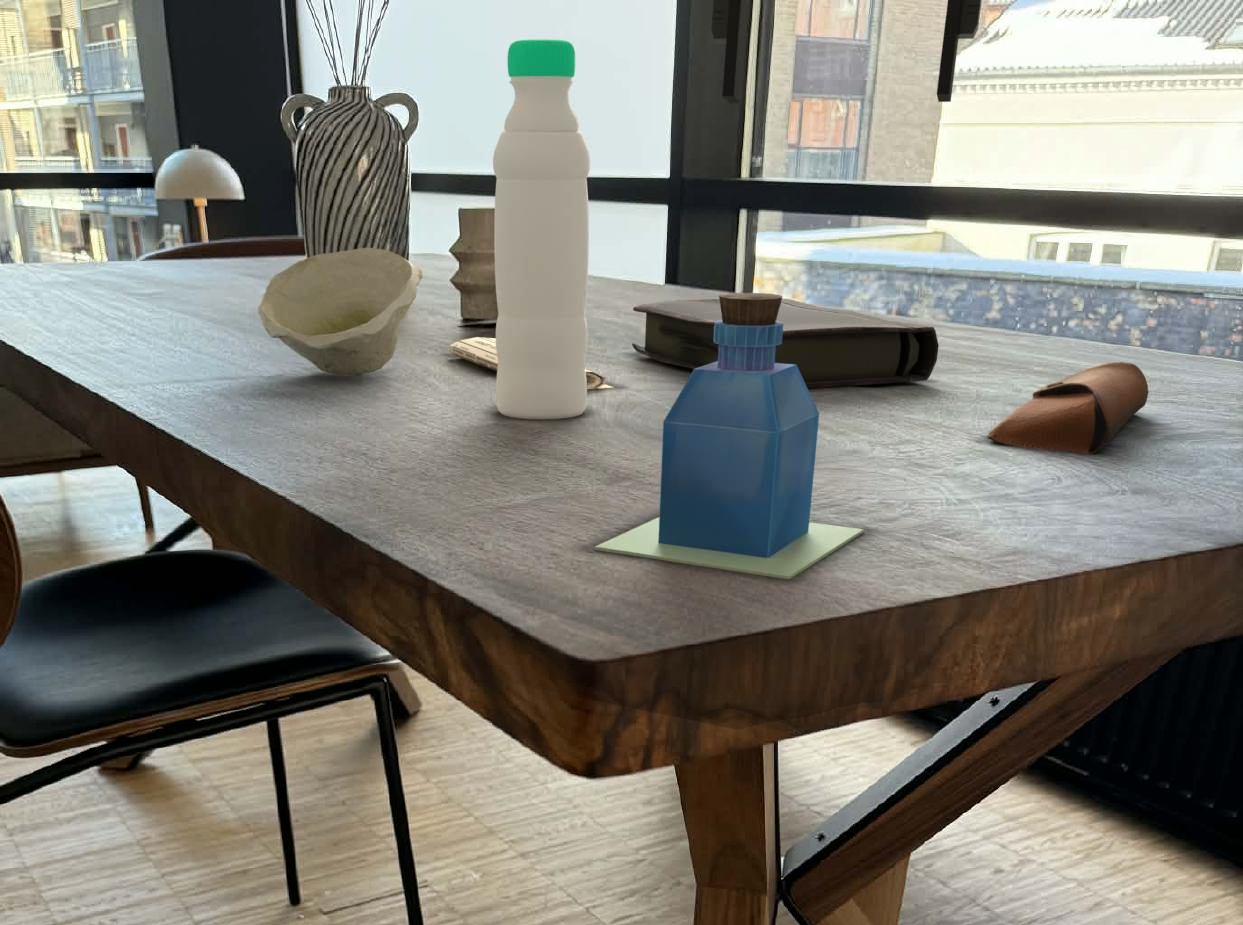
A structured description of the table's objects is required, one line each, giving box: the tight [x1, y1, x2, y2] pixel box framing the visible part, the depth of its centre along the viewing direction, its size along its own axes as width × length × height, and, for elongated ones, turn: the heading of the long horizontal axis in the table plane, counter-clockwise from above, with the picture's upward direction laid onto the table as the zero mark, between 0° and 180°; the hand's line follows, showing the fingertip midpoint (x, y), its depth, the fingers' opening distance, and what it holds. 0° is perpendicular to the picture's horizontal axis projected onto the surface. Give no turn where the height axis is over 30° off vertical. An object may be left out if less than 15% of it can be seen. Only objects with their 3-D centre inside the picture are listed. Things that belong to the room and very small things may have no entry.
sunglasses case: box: [987, 361, 1149, 455], centre depth 106 cm, size 18×7×7 cm, turn 152°
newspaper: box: [448, 336, 615, 390], centre depth 130 cm, size 24×7×2 cm, turn 23°
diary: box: [631, 298, 940, 389], centre depth 132 cm, size 19×25×5 cm
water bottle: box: [492, 38, 591, 420], centre depth 106 cm, size 7×7×25 cm
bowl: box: [257, 247, 424, 377], centre depth 128 cm, size 15×14×10 cm
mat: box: [594, 516, 865, 580], centre depth 77 cm, size 11×11×1 cm
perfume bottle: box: [658, 292, 820, 558], centre depth 74 cm, size 6×6×12 cm
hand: (835, 100), depth 92 cm, fingers open, 13 cm apart
